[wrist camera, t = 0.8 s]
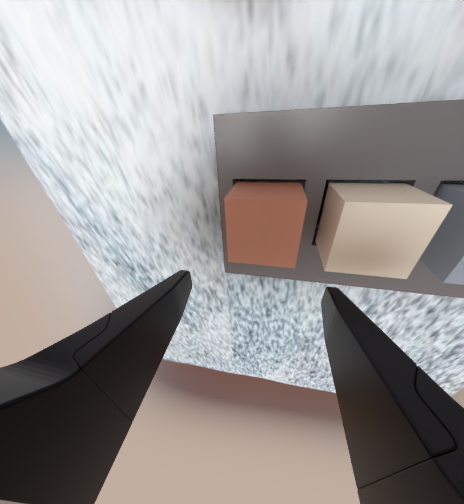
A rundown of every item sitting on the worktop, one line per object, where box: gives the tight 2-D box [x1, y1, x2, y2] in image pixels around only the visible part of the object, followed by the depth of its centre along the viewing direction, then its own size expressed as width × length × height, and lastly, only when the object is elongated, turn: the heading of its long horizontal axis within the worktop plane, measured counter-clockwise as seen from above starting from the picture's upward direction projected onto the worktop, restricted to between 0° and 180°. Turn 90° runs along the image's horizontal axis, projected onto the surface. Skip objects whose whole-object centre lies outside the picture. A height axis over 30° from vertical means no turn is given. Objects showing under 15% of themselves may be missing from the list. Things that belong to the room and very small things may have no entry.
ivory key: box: [315, 183, 453, 279], centre depth 13 cm, size 5×5×4 cm
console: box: [213, 100, 464, 298], centre depth 16 cm, size 22×14×3 cm, turn 92°
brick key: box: [224, 182, 308, 268], centre depth 15 cm, size 5×5×4 cm
